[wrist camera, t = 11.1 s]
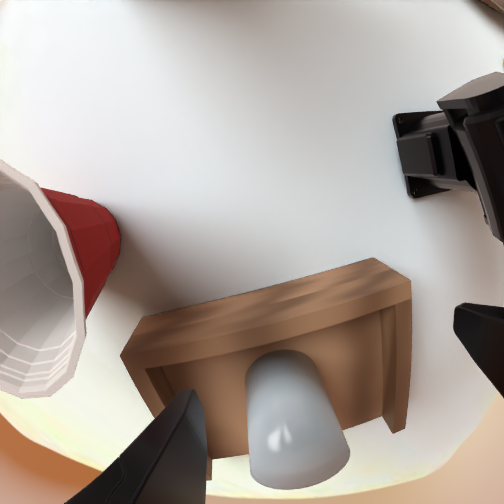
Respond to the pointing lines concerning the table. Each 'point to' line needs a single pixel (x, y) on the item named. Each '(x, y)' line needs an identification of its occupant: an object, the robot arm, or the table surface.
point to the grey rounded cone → (291, 423)
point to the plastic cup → (48, 281)
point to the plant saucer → (495, 4)
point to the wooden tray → (283, 337)
